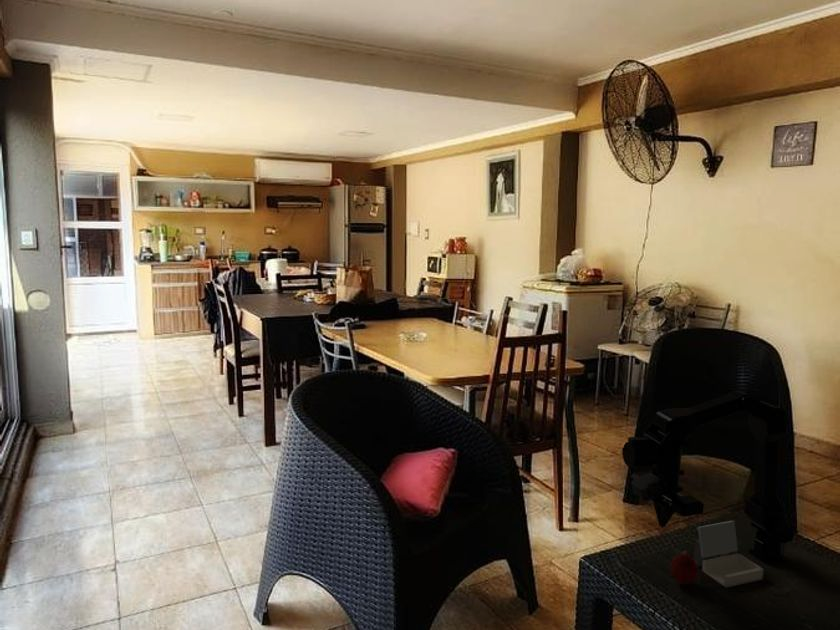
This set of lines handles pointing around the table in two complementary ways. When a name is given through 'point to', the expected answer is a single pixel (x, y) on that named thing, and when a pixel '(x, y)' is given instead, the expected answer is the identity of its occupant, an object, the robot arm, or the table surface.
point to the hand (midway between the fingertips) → (662, 526)
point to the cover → (717, 538)
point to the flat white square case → (729, 568)
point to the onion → (684, 568)
